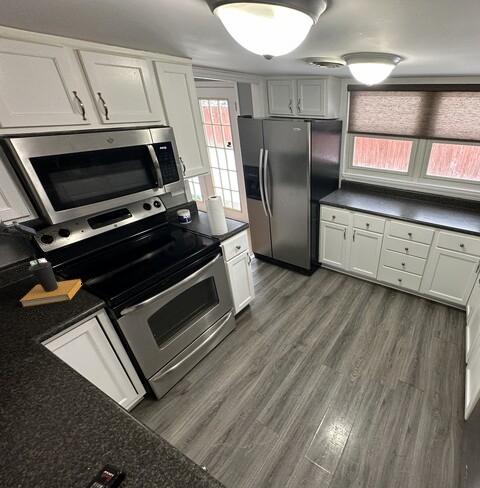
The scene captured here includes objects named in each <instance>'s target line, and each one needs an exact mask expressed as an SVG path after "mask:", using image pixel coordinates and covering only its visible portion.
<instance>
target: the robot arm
mask: <svg viewBox="0 0 480 488" xmlns="http://www.w3.org/2000/svg"><path fill="white" fill-rule="evenodd" d="M1 236H2V237H10V236H11V237H19V238H23V239H24V241H25V243H26V245H27V246H28V247H30V246H31V243H30V241H32V240H33V238H32V237H35V236H37V232H36V229H34V228H33V227H31V226H30V227H29V226H26V225H24V224H21V223H19V221H17V220H13V221H12V222H11V223H10V224H9V223H8V224H6V223H4V221H3V219H2V217H0V237H1Z"/></svg>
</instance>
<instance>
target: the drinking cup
mask: <svg viewBox="0 0 480 488" xmlns="http://www.w3.org/2000/svg"><path fill="white" fill-rule="evenodd" d="M32 255H33V258H34V260H36V262H37V264H35V265H33V266H31V265H30V266H29V267H28V271H30V272H31V274H32V275H33V276H34V278H35V280H36V281H37V282H38V283H39V285H41V286H42V288H43V289H44V290H45V292H52V291H55V290H56V289H58V285H57V282H58V281H57V280H56V276H55V274H54V271H53V270H54V269H53V268H52V267H53V266H52V263H51V262H50V261H47V262H41V263H39V261H38V257H37V255H36V254H35V253H33V254H32ZM56 281H57V282H56Z"/></svg>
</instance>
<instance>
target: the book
mask: <svg viewBox="0 0 480 488" xmlns="http://www.w3.org/2000/svg"><path fill="white" fill-rule="evenodd" d="M81 283H82V280H81V278H77V279H70V280H64V281H57V285H58V289H56V290H55V291H52V292H45V290H44V289H43V288H42V286H41V285H40V284H35V286H34V287H33V288H31V289H30V290H29V291H28V292H27V293H26V295H24V296H23V297H22V298H21V299H20V300H19V302H21V305H22V308H27V307H32V306H33V307H34V306H39V305H46V304H53V303H58V302H66V301H71V300H72V299H73V297H74V296H75V295H76V294H77V292H78V291H79V290H80V288H81V287H82V286H83V283H82V285H81Z"/></svg>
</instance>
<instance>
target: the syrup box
mask: <svg viewBox="0 0 480 488" xmlns="http://www.w3.org/2000/svg"><path fill="white" fill-rule="evenodd" d="M37 259H38V258H37ZM38 261H39V263H41V262H48V261H47V259H46V258H45V257H44V258H43V257H42V258H39V259H38ZM29 264H30V267H31V266H33V265H35V264H37V262H36V260H35V259H34V260H31V261H29ZM56 282H58V281H57V280H56Z"/></svg>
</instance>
